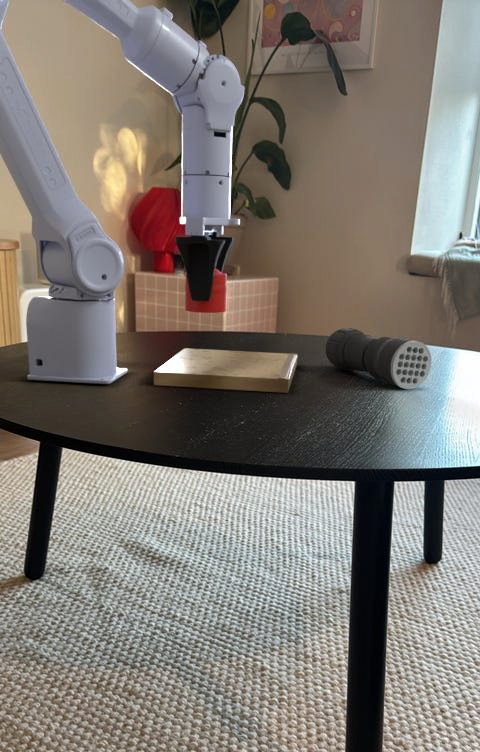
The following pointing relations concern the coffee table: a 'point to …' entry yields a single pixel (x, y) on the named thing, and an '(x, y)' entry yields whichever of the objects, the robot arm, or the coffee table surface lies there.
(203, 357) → the board
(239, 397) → the coffee table surface
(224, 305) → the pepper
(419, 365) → the flashlight
